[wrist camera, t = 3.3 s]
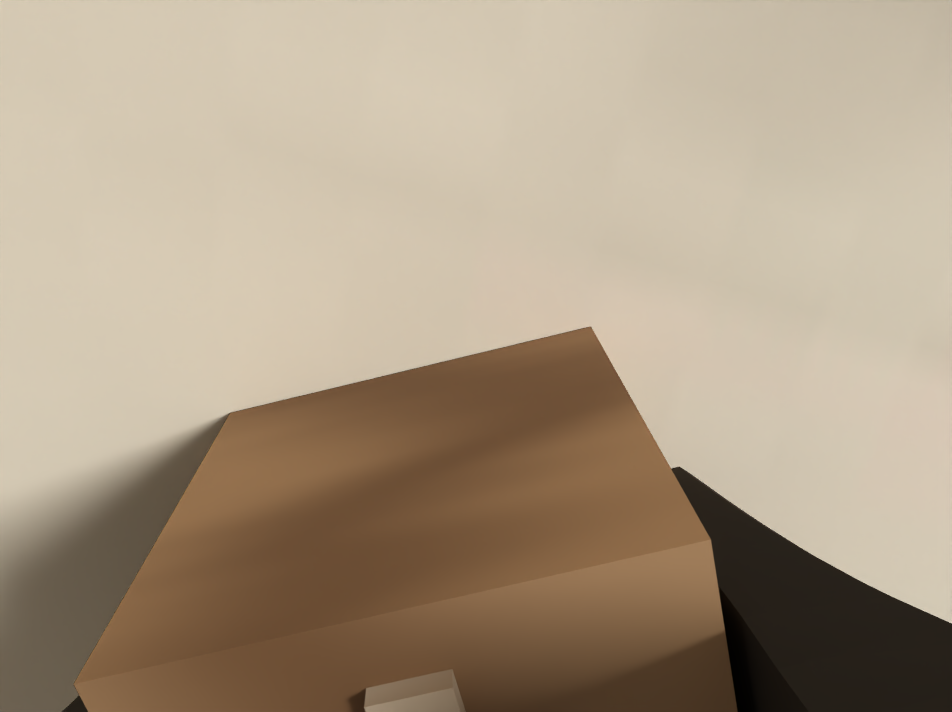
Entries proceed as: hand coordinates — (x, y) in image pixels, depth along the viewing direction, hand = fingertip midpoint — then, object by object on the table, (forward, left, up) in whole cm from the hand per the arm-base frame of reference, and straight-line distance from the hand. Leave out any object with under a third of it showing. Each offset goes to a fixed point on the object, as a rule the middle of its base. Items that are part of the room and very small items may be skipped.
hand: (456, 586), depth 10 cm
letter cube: (0, 0, -1) cm, 1 cm away
